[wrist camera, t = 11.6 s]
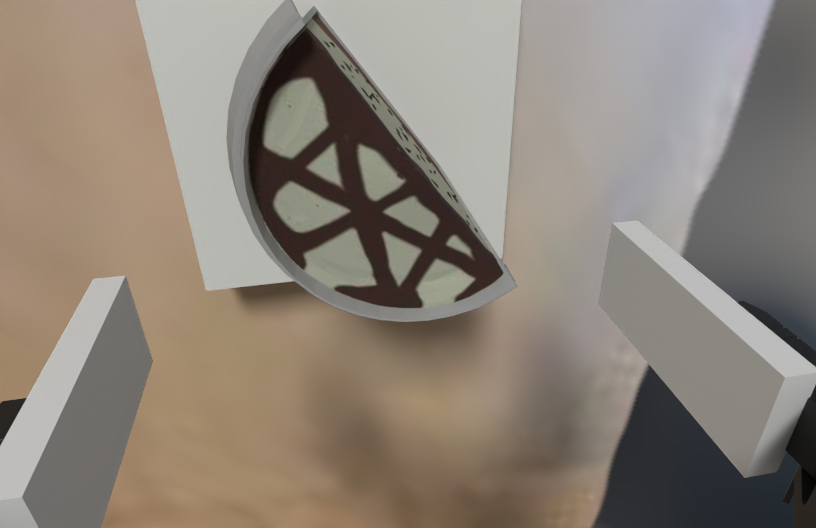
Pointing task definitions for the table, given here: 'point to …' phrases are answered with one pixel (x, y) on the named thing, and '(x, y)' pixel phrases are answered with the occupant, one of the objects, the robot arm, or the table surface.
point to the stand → (386, 65)
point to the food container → (349, 183)
